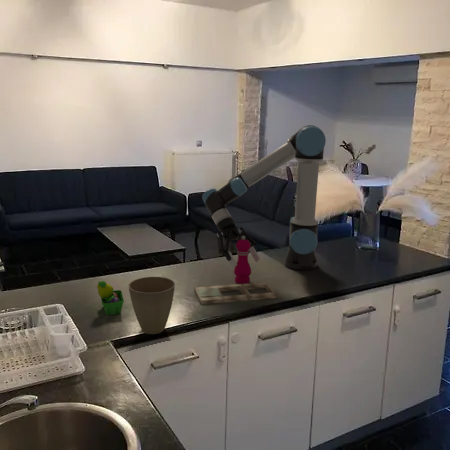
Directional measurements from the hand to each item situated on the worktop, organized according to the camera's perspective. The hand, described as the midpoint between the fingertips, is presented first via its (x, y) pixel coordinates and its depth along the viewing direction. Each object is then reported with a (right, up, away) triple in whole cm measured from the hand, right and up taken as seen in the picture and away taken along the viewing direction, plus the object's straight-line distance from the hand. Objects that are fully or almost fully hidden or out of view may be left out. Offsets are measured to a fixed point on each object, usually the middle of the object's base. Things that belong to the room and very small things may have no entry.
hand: (246, 263), depth 209 cm
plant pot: (-33, -19, -43) cm, 57 cm away
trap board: (-5, -11, -11) cm, 17 cm away
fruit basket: (-50, -15, -27) cm, 59 cm away
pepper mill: (-2, -8, +4) cm, 9 cm away
